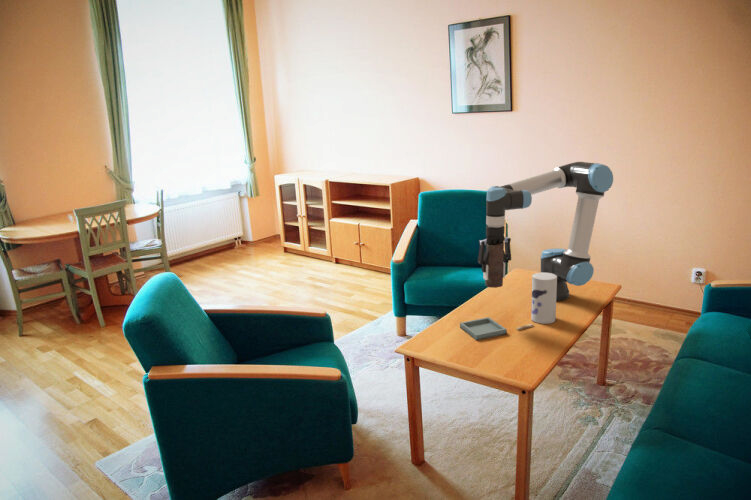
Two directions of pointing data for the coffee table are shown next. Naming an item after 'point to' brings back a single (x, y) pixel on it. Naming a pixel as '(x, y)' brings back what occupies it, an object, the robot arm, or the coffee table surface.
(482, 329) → the dish
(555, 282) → the container
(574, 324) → the coffee table surface
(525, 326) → the beige wooden bar
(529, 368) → the coffee table surface
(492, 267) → the dark brown cylinder
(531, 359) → the coffee table surface
